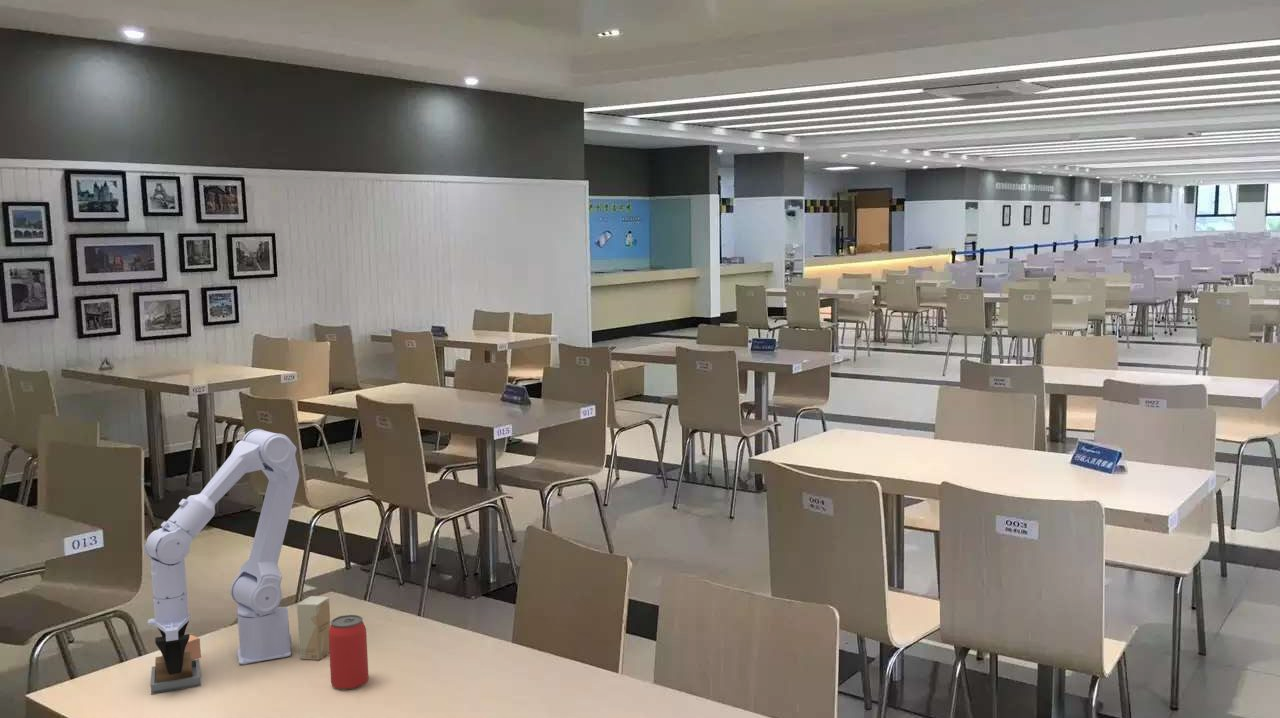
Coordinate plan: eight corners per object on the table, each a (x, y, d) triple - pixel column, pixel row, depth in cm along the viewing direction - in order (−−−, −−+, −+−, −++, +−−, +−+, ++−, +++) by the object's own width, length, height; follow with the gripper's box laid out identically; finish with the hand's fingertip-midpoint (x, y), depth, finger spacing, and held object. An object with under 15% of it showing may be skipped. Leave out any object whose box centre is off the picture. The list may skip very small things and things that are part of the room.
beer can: (375, 678, 190) (372, 615, 189) (354, 693, 184) (351, 628, 183) (345, 674, 193) (342, 612, 191) (323, 688, 186) (320, 624, 185)
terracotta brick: (192, 654, 204) (190, 634, 204) (201, 657, 202) (199, 638, 202) (162, 664, 199) (161, 644, 199) (171, 668, 197) (170, 648, 197)
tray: (199, 667, 197) (199, 658, 197) (200, 685, 189) (200, 676, 189) (152, 675, 194) (151, 666, 194) (151, 694, 185) (150, 685, 185)
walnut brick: (192, 671, 194) (190, 651, 193) (192, 678, 191) (191, 657, 190) (157, 677, 191) (155, 657, 191) (156, 684, 189) (155, 663, 188)
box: (319, 660, 199) (316, 605, 198) (299, 659, 200) (295, 604, 199) (332, 650, 204) (329, 596, 203) (312, 649, 205) (309, 594, 204)
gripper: (147, 585, 194) (152, 655, 196) (144, 609, 181) (150, 684, 183) (187, 580, 197) (192, 648, 199) (188, 603, 184) (193, 676, 186)
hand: (175, 665), depth 191 cm, fingers open, 7 cm apart
